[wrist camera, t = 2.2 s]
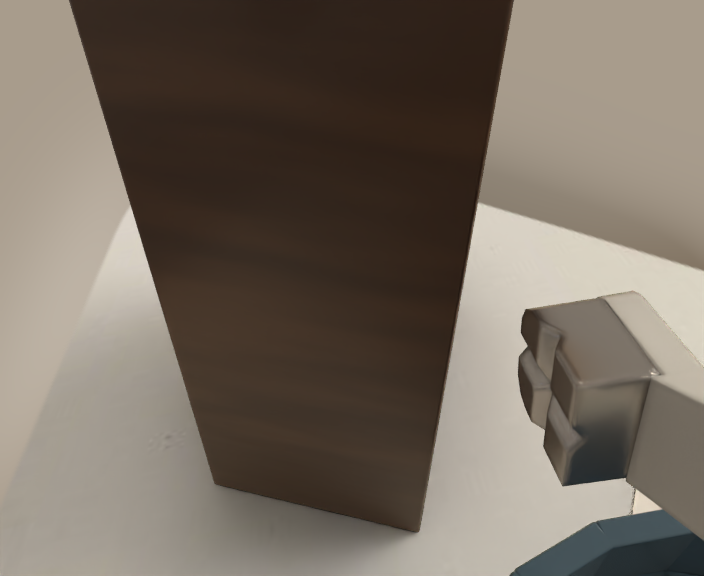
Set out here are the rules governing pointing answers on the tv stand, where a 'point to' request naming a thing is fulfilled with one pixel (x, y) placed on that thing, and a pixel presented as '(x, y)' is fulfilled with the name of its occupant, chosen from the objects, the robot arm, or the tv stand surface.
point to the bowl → (623, 549)
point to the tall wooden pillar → (306, 222)
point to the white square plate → (643, 504)
